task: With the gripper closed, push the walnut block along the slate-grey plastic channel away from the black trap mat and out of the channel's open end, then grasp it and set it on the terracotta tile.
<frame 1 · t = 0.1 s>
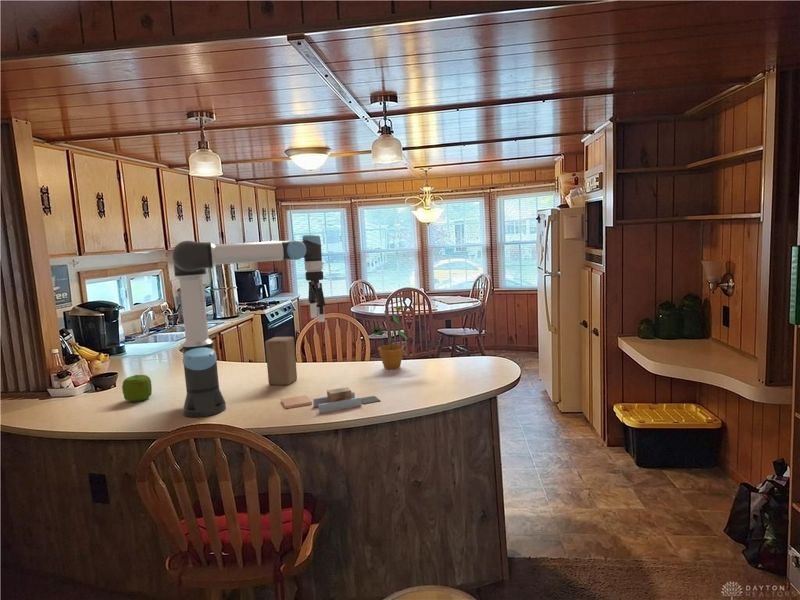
hand: (317, 319, 229), 28 cm above the countertop, fingers open, 13 cm apart
channel: (337, 405, 199), on the countertop
trap mat: (368, 400, 204), on the countertop
block: (340, 405, 199), on the countertop
wooden block: (283, 382, 237), on the countertop
green rounded cube: (138, 400, 222), on the countertop
tile: (296, 402, 206), on the countertop
potted plant: (392, 368, 252), on the countertop
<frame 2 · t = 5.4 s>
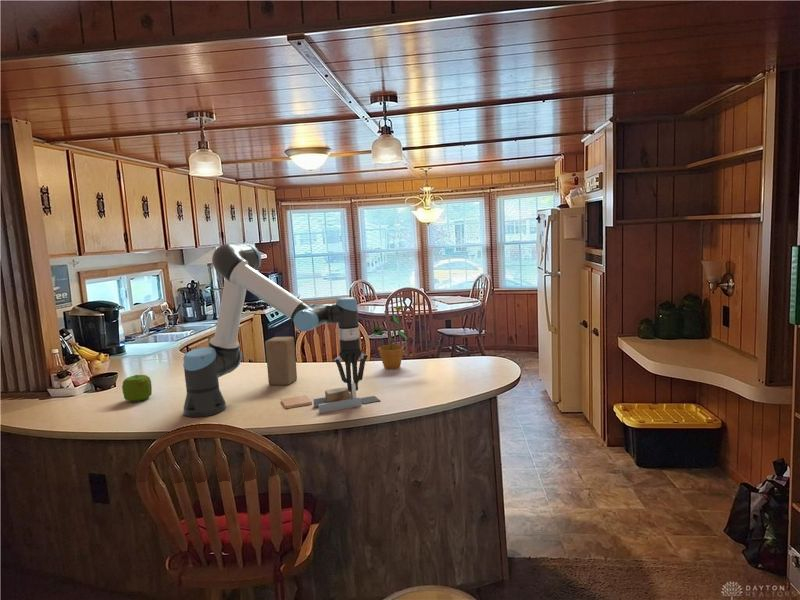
hand: (353, 399, 201), 1 cm above the countertop, fingers closed
block: (338, 405, 199), on the countertop, touching gripper
everything else where it was.
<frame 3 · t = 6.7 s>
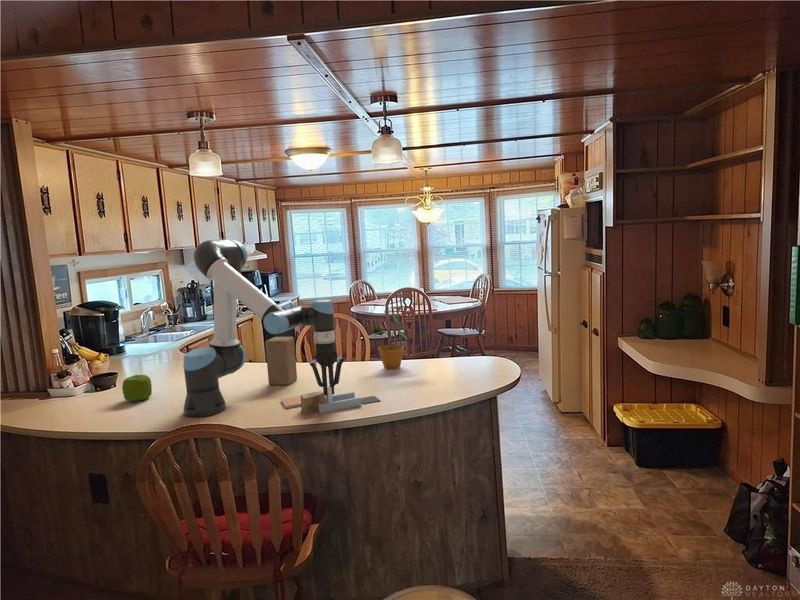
hand: (329, 403, 198), 1 cm above the countertop, fingers closed
block: (313, 410, 195), on the countertop, touching gripper
everything else where it was.
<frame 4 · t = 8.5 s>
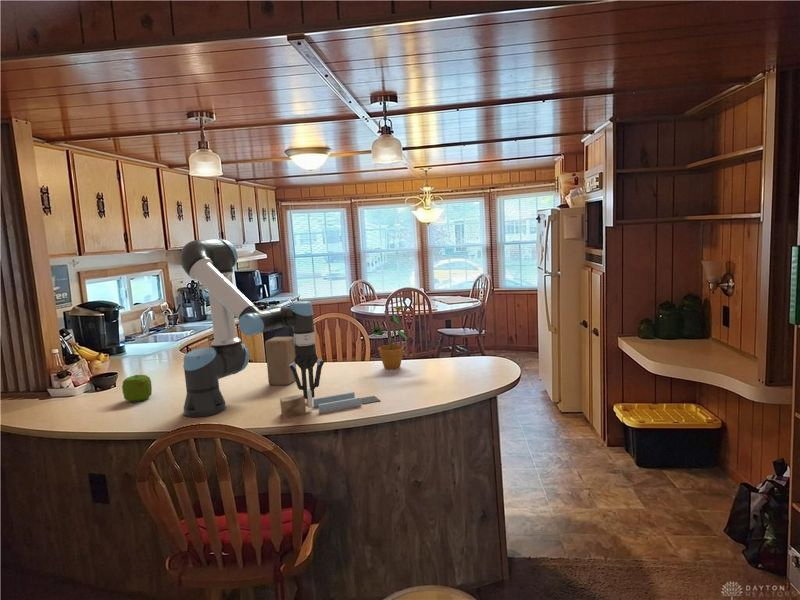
hand: (309, 406, 195), 2 cm above the countertop, fingers closed
block: (293, 413, 193), on the countertop, touching gripper
everything else where it was.
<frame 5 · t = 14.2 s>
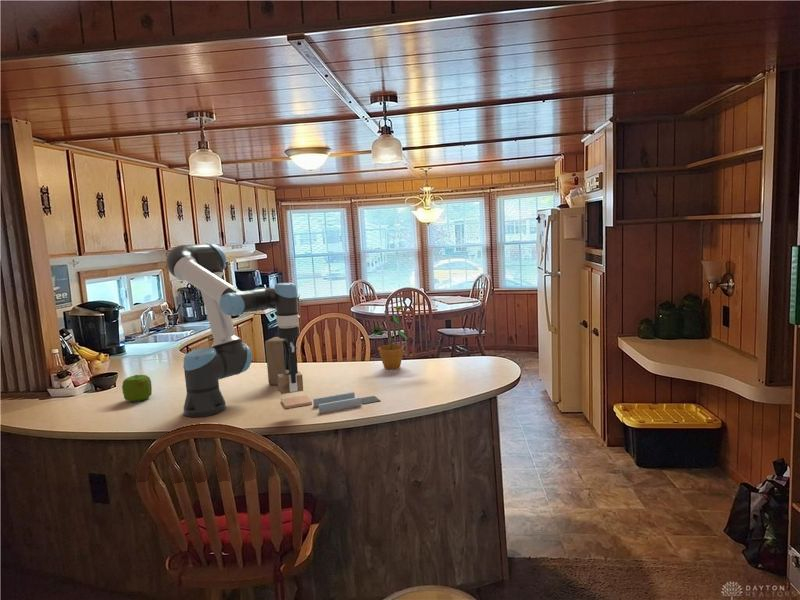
hand: (292, 389, 192), 9 cm above the countertop, fingers closed on block, 5 cm apart
block: (290, 390, 192), point 9 cm above the countertop, touching gripper
everything else where it was.
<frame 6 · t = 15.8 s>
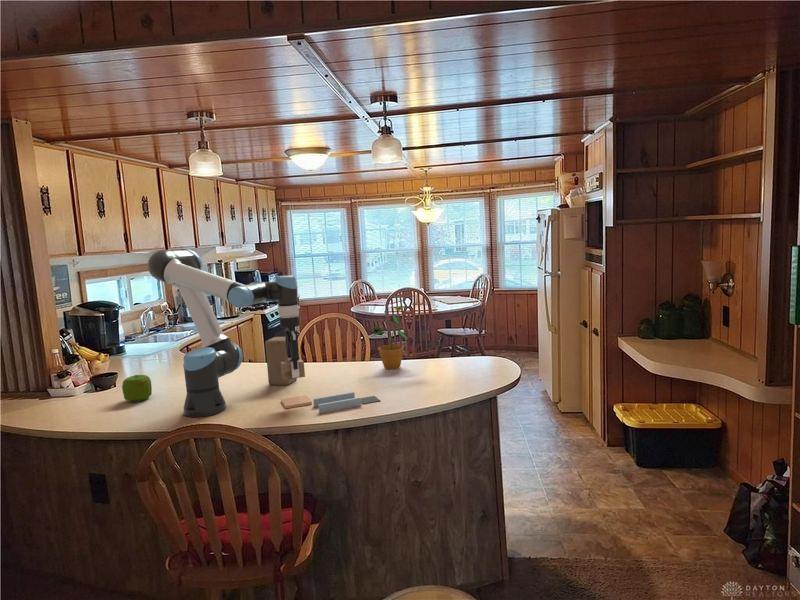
hand: (294, 375, 204), 11 cm above the countertop, fingers closed on block, 5 cm apart
block: (293, 377, 204), point 10 cm above the countertop, touching gripper
everything else where it was.
when the fingers open (1 cm above the countertop, at t = 17.6 s): block stays where it is, resting on tile.
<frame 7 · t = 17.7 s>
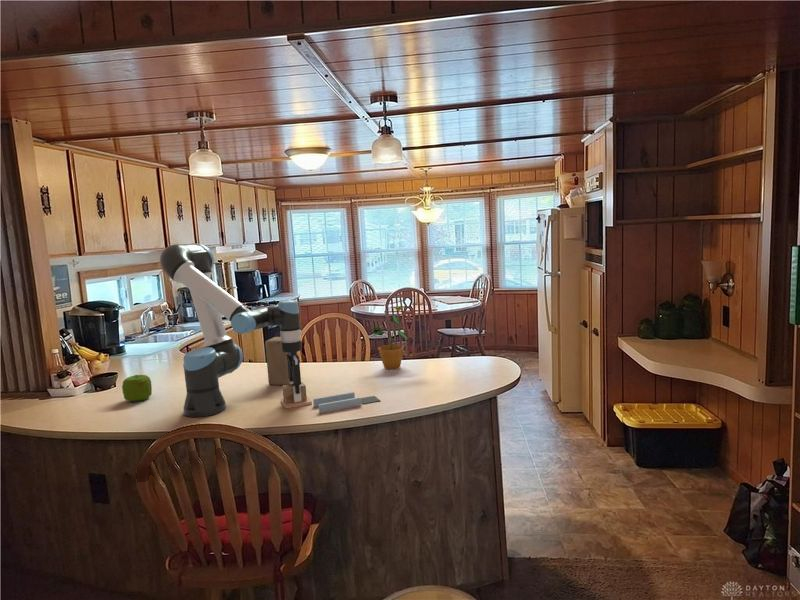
hand: (296, 399, 205), 1 cm above the countertop, fingers open, 5 cm apart
block: (295, 400, 205), point 1 cm above the countertop, touching tile
everything else where it was.
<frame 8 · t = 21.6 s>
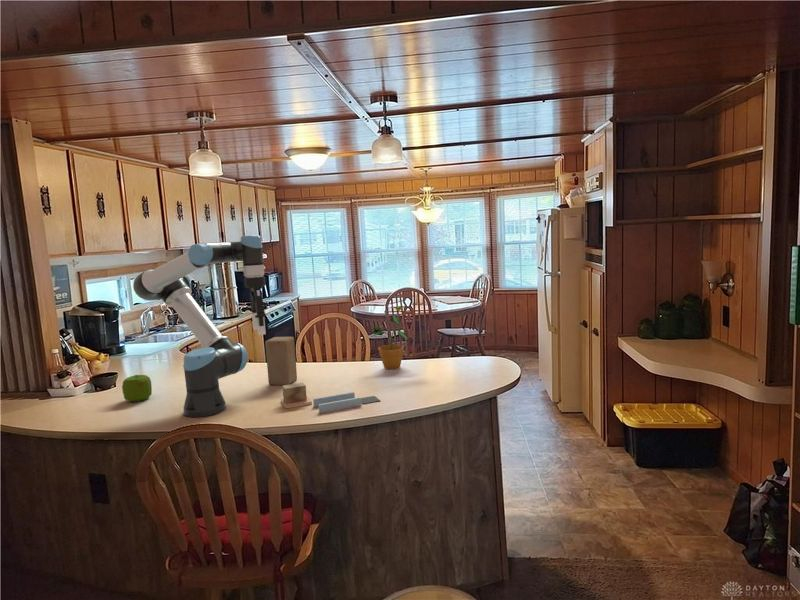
hand: (259, 331, 202), 29 cm above the countertop, fingers open, 13 cm apart
nothing on the countertop moved.
at the end: block inside the target area on the tile (0.4 cm from its centre), point 1.0 cm above the tile's base; block tilted 0°; the gripper is holding nothing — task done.
